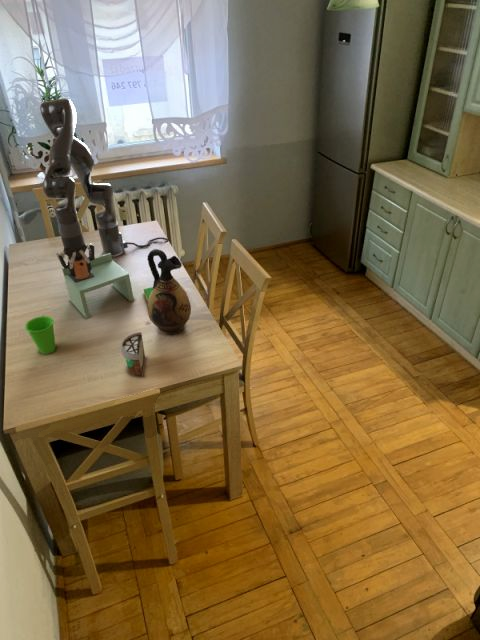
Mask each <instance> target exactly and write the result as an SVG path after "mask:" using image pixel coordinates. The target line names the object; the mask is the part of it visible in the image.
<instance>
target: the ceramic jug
mask: <svg viewBox="0 0 480 640" xmlns="http://www.w3.org/2000/svg"><path fill="white" fill-rule="evenodd" d="M154 257H159V259H160V261H159V262H158V263H157V265H156V262H155V260H154V259H155V258H154ZM147 262H148V267H149V269H150V272H151V275H152V277H153V285H152V287H153V290H152V292H151V294H150V296H149V300H148V301H147V305H146V306H147V315H148V318H149V320H150V321H151V323H152V324H153V325H154V326H155V327H157V330H159V331H160V333H162V334H165V335H168V336H172V335H175V334H179V333H181V332H182V331H183V330H184V329H185V328H184V327H185V325H186V323H188V321H189V319H190V317H191V314H192V313H191V312H192V305H191V301H190V298H189V296H188V294H187V291H186V290H185V289H184V287H183V286H182V285H181V284H180V282H179V281H178V280H177V279H176V278H175V277H174V276H173V275H172V271H174V270H178V269H180V268H182V266H183V265H182V262H181V260H180V259H179V258H178V257H177V256H176V255H173V256H171V257H169V258H168V256H167V254H166V253H165V252H164V251H163V250H162V249H158V248H154V249H152V250H150V251H149V252H148V255H147ZM158 269H160V273H159V271H158Z"/></svg>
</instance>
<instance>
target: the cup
mask: <svg viewBox="0 0 480 640" xmlns="http://www.w3.org/2000/svg"><path fill="white" fill-rule="evenodd" d="M54 322H55V321H54V319H53V318H52V317H51V316H48V315H47V316H46V315H41V316H37V317H34V318H32V319H30V320H29V321H27V322H26V323H25V326H24V329H25V330H26V331H27V332H28V334H29V335H30V337H31V339H32V340H33V342H34V344H35V346H36V347H37V350H38V351H39V352H40V353H41V354H43V355H48V354H51V353H53V352H54V351H55V350H56V339H55V338H56V337H55V330H54Z"/></svg>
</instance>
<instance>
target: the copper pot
mask: <svg viewBox="0 0 480 640" xmlns="http://www.w3.org/2000/svg"><path fill="white" fill-rule="evenodd" d="M73 269H74V272H75V278H76V279H84V278H87V277H88V276H89V272H88V268H87V263H86V260H85V258H83V257H82V258H78V259H76V260H74V263H73Z"/></svg>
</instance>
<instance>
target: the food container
mask: <svg viewBox="0 0 480 640" xmlns="http://www.w3.org/2000/svg"><path fill="white" fill-rule="evenodd" d="M120 353H121V355H122V356H123V357H124V359H125V363H126V365H127V369H128V372H129V373H130V375H132V376H135V377H144V370H145V363H146V354H145V347H144V341H143V334H142V331H139V332H134V333H132V334H130V335H128V336H126V337H125V338H124V339H123V340H122V342H121V345H120Z"/></svg>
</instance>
